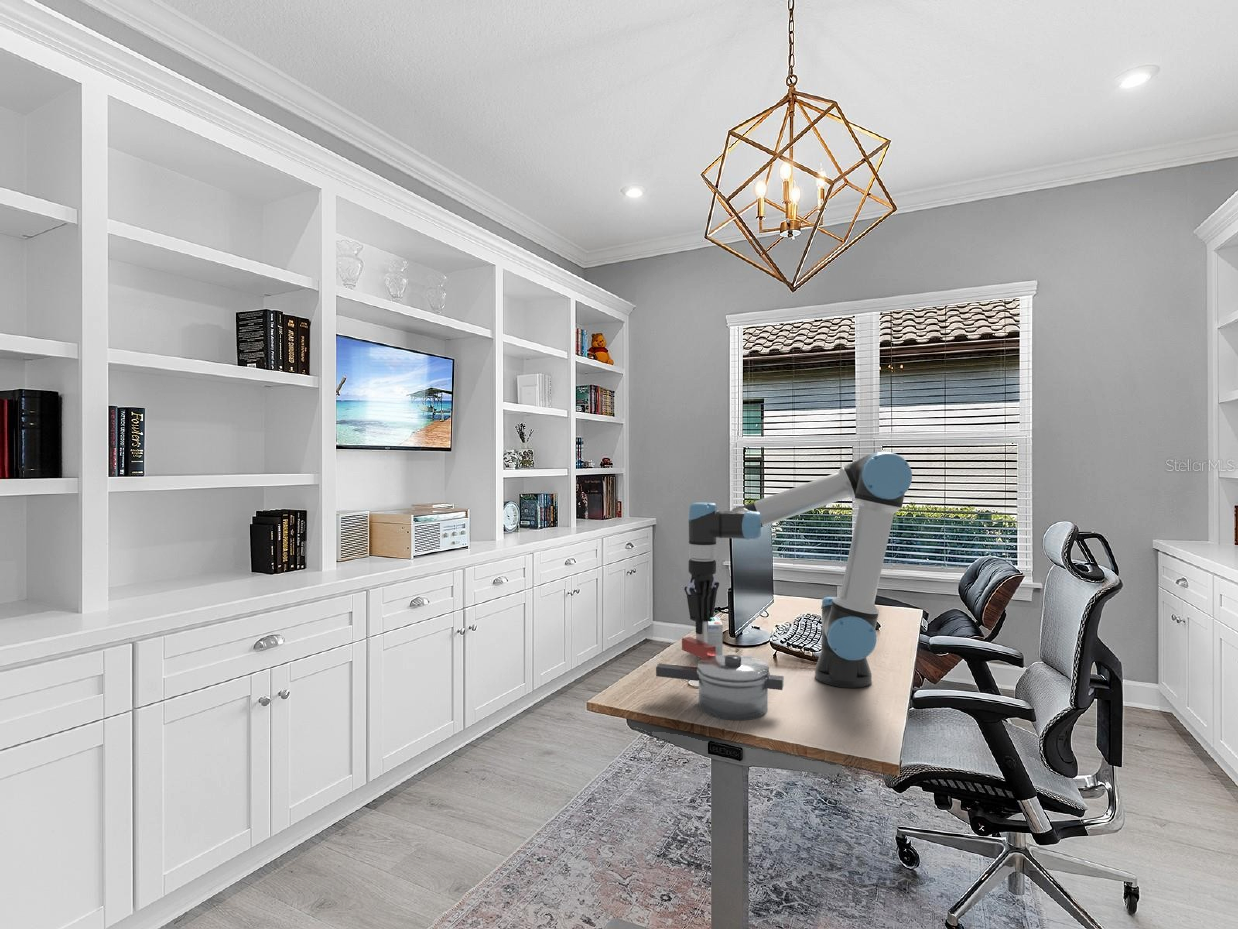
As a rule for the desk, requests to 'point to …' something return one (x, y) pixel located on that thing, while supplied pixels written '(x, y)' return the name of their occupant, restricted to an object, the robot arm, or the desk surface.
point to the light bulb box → (715, 634)
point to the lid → (724, 663)
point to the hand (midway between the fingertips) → (701, 645)
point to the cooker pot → (726, 692)
